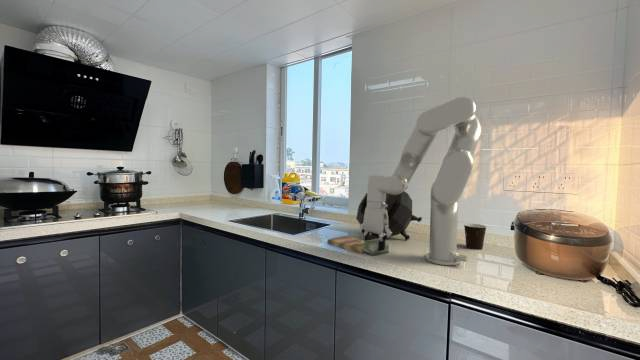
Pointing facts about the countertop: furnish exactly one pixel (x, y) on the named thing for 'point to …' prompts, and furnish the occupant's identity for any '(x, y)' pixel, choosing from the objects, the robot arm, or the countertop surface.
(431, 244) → the robot arm
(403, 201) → the black cauldron
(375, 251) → the sanding block
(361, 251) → the oak board
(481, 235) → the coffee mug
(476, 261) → the countertop surface
